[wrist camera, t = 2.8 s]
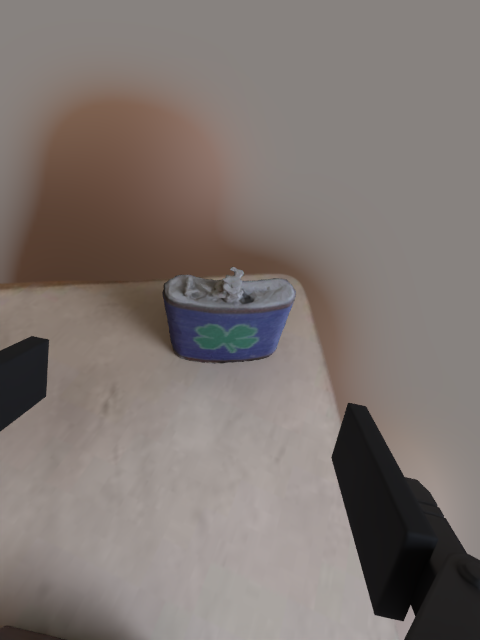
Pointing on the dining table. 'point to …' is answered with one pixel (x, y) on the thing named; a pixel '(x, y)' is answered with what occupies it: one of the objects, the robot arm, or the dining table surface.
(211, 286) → the flask
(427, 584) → the robot arm
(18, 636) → the walnut block
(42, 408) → the dining table surface
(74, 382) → the dining table surface
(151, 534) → the dining table surface
